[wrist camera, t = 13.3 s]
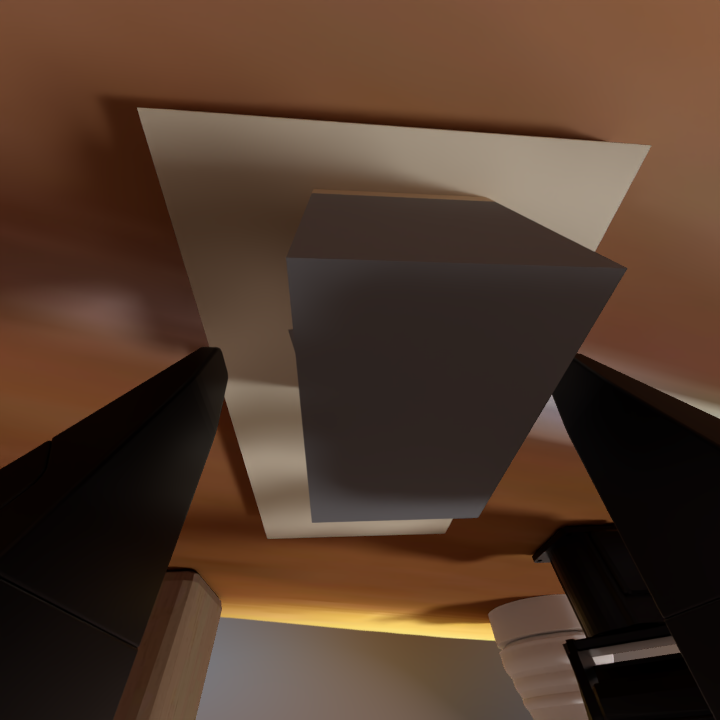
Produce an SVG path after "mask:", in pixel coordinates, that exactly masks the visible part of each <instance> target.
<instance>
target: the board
mask: <svg viewBox="0 0 720 720" xmlns="http://www.w3.org/2000/svg"><path fill="white" fill-rule="evenodd" d="M137 110H138V113H139V116H140V120H141V123H142V126H143V130H144V133H145V136H146V140H147V143H148V146H149V149H150V153H151V156H152V159H153V163H154V166H155V169H156V173H157V176H158V179H159V182H160V186H161V189H162V192H163V196H164V199H165V202H166V206H167V209H168V212H169V215H170V219H171V222H172V225H173V229H174V232H175V235H176V239H177V242H178V245H179V248H180V252H181V255H182V258H183V262H184V265H185V268H186V272H187V275H188V278H189V281H190V285H191V288H192V291H193V295H194V298H195V301H196V305H197V308H198V311H199V314H200V318H201V321H202V324H203V328H204V331H205V334H206V338H207V341H208V344H209V347H218V348H220V349H221V351H222V353H223V357H224V360H225V364H226V368H227V371H228V382H227V387H226V391H225V396H224V397H225V400H226V403H227V407H228V410H229V413H230V417H231V420H232V423H233V427H234V430H235V433H236V436H237V440H238V443H239V446H240V450H241V453H242V456H243V460H244V463H245V466H246V469H247V473H248V476H249V479H250V483H251V486H252V489H253V493H254V496H255V499H256V502H257V506H258V509H259V512H260V516H261V519H262V522H263V526H264V529H265V532H266V535H267V539H280V538H313V537H346V536H379V535H412V534H445V532H446V530H447V529H448V527H449V525H450V523H451V521H452V519H422V520H389V521H356V522H323V523H312V519H311V509H310V498H309V488H308V478H307V468H306V457H305V447H304V437H303V427H302V416H301V406H300V396H299V386H298V375H297V365H296V355H295V345H294V334H293V324H292V314H291V304H290V293H289V283H288V273H287V263H286V256H287V254H288V251H289V249H290V246H291V244H292V241H293V239H294V236H295V234H296V231H297V229H298V226H299V224H300V221H301V219H302V216H303V214H304V211H305V209H306V206H307V204H308V201H309V199H310V196H311V194H312V191H313V189H329V190H349V191H370V192H391V193H412V194H433V195H454V196H475V197H487V198H489V199H491V200H493V201H495V202H497V203H499V204H501V205H503V206H505V207H507V208H509V209H511V210H513V211H515V212H517V213H519V214H521V215H523V216H525V217H527V218H529V219H531V220H533V221H535V222H537V223H539V224H541V225H542V226H544V227H546V228H548V229H550V230H552V231H554V232H556V233H558V234H560V235H562V236H564V237H566V238H568V239H570V240H572V241H574V242H576V243H578V244H580V245H582V246H584V247H586V248H588V249H590V250H592V251H594V252H595V250H596V249H597V247H598V245H599V243H600V241H601V239H602V237H603V235H604V234H605V232H606V230H607V228H608V226H609V224H610V222H611V220H612V219H613V217H614V215H615V213H616V211H617V209H618V207H619V205H620V203H621V202H622V200H623V198H624V196H625V194H626V192H627V190H628V188H629V187H630V185H631V183H632V181H633V179H634V177H635V175H636V173H637V172H638V170H639V168H640V166H641V164H642V162H643V160H644V158H645V157H646V155H647V153H648V151H649V149H650V147H651V145H640V144H629V143H618V142H606V141H593V140H579V139H566V138H552V137H539V136H525V135H512V134H498V133H485V132H471V131H458V130H444V129H430V128H417V127H403V126H390V125H376V124H363V123H349V122H336V121H322V120H309V119H295V118H282V117H268V116H255V115H241V114H228V113H214V112H201V111H187V110H174V109H156V108H137Z"/></svg>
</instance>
